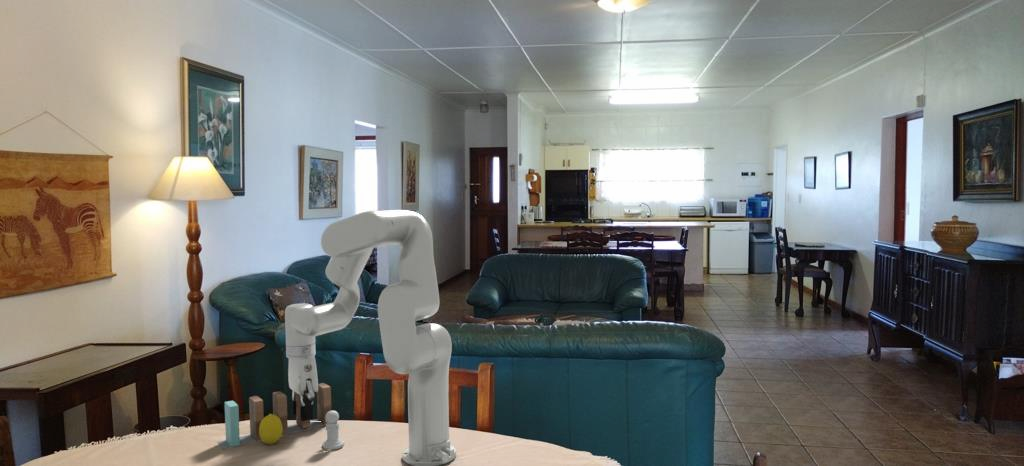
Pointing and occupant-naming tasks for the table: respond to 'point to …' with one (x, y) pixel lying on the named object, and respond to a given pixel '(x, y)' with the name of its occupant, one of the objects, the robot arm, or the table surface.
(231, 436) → the domino end
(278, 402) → the domino
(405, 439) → the table surface
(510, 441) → the table surface
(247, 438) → the grey flat board
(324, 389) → the domino
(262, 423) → the lemon
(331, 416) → the chess piece
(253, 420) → the domino
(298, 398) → the domino
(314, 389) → the robot arm
